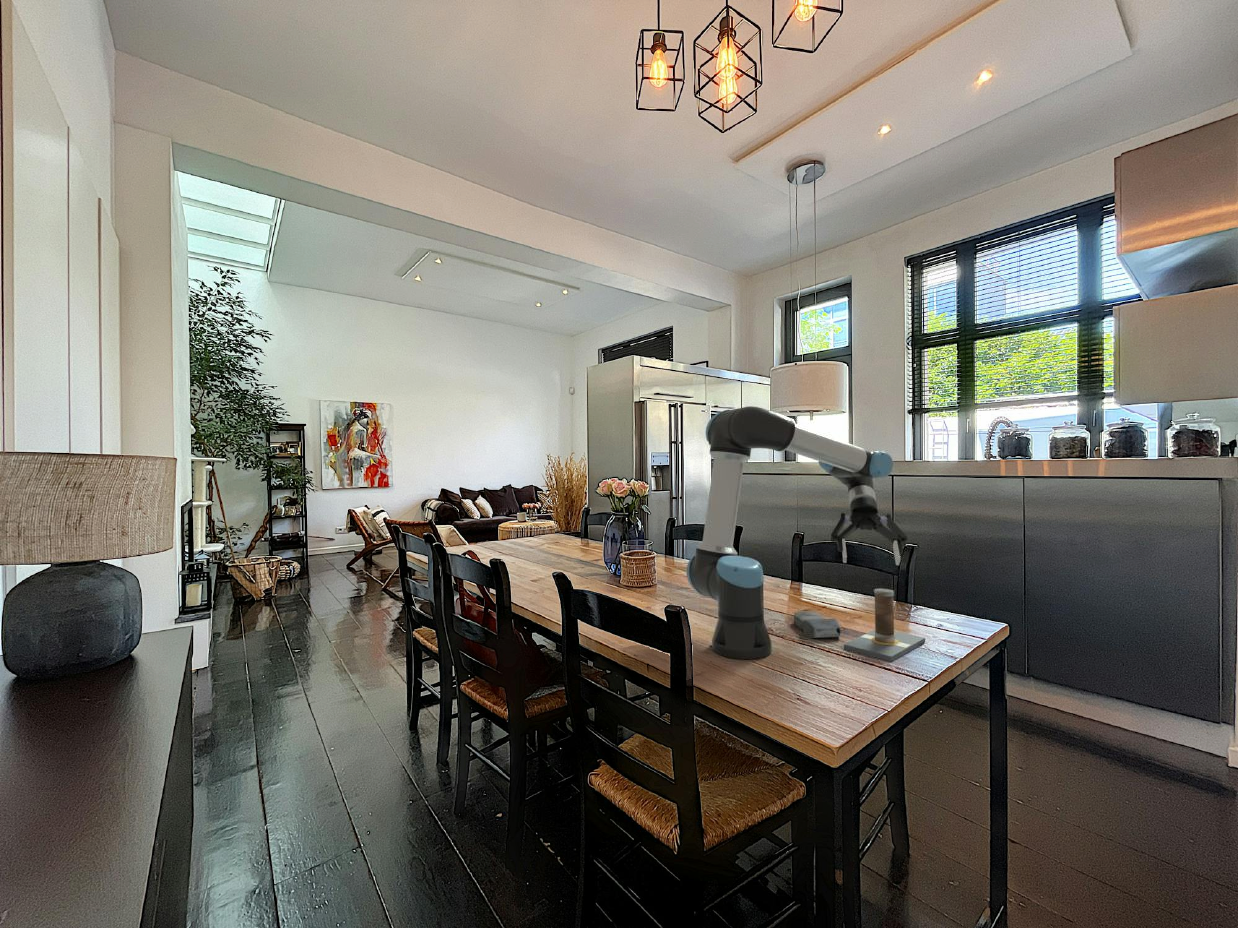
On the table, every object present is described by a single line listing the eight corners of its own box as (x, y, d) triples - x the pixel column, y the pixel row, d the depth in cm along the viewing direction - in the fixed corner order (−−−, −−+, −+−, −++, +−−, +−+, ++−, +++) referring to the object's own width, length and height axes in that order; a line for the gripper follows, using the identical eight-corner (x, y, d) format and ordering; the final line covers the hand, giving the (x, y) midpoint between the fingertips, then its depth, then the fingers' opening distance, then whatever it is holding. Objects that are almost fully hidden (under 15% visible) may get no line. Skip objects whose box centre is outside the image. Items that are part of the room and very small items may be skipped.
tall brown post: (876, 642, 138) (875, 592, 138) (873, 636, 143) (872, 588, 143) (896, 644, 137) (896, 593, 137) (893, 638, 142) (892, 588, 142)
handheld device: (814, 619, 165) (814, 604, 165) (845, 640, 145) (845, 623, 145) (783, 620, 165) (783, 605, 165) (811, 642, 145) (811, 625, 145)
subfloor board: (891, 661, 129) (891, 655, 129) (843, 648, 138) (843, 643, 138) (925, 642, 142) (925, 637, 142) (879, 632, 151) (879, 627, 151)
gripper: (906, 512, 163) (918, 571, 148) (819, 511, 170) (823, 566, 156) (910, 496, 158) (923, 555, 143) (820, 495, 165) (824, 551, 151)
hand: (871, 561), depth 149 cm, fingers open, 13 cm apart
